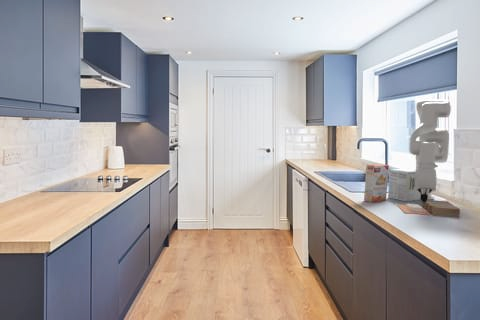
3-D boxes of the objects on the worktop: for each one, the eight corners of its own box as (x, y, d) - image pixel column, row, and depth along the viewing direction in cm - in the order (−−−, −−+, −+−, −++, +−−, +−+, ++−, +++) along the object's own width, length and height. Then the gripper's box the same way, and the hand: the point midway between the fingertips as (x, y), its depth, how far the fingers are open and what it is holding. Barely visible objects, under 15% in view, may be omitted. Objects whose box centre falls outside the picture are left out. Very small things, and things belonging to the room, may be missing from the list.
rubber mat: (396, 205, 213) (396, 204, 213) (420, 206, 210) (420, 206, 210) (404, 213, 193) (404, 212, 193) (430, 214, 191) (430, 214, 191)
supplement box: (405, 201, 225) (407, 171, 223) (387, 197, 236) (389, 169, 234) (420, 200, 231) (422, 170, 229) (402, 196, 242) (404, 168, 241)
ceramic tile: (418, 204, 204) (417, 208, 205) (406, 203, 206) (405, 207, 206) (422, 207, 196) (422, 211, 196) (410, 207, 197) (409, 210, 197)
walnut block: (422, 206, 210) (422, 199, 210) (446, 208, 208) (447, 201, 207) (432, 215, 191) (433, 207, 190) (459, 217, 188) (459, 208, 188)
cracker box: (372, 202, 218) (374, 165, 216) (363, 200, 223) (365, 164, 221) (387, 200, 226) (389, 164, 224) (378, 198, 231) (380, 163, 229)
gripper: (439, 166, 201) (437, 201, 203) (409, 164, 204) (406, 199, 206) (444, 167, 194) (441, 204, 195) (412, 166, 197) (409, 202, 198)
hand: (423, 201), depth 200 cm, fingers closed
